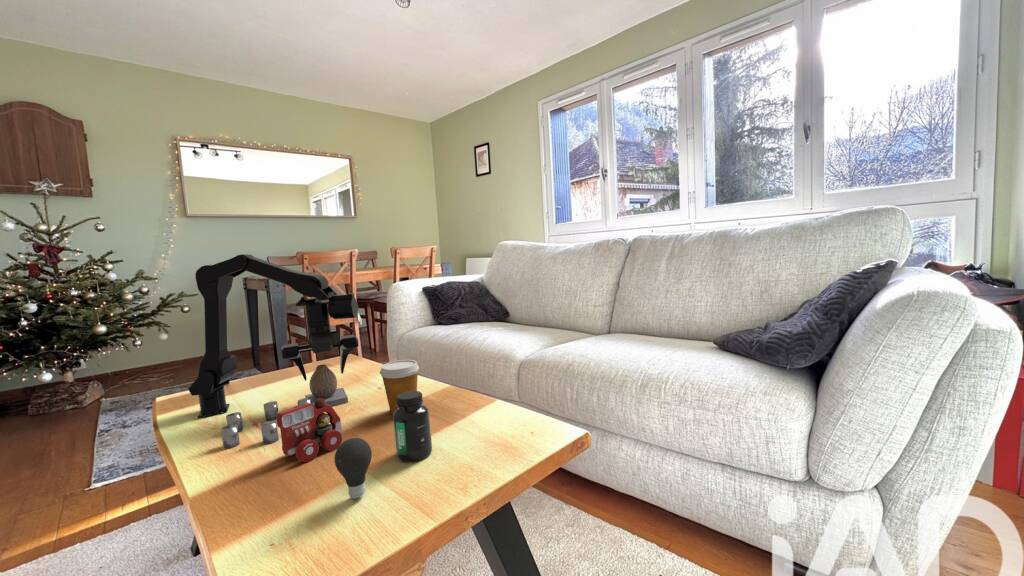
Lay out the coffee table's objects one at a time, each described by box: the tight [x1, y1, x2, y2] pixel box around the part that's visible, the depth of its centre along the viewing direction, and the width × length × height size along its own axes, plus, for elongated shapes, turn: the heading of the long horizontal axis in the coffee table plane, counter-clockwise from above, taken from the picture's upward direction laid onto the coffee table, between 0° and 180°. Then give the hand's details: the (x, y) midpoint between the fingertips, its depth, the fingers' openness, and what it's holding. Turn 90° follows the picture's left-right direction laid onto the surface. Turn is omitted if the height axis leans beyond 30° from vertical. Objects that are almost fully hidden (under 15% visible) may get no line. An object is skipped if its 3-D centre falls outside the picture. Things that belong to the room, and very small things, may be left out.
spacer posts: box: [220, 397, 311, 450], centre depth 97 cm, size 18×18×4 cm
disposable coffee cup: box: [379, 359, 420, 416], centre depth 103 cm, size 10×10×12 cm
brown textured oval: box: [309, 363, 338, 399], centre depth 114 cm, size 7×7×9 cm
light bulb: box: [334, 437, 373, 501], centre depth 67 cm, size 6×6×10 cm
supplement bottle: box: [392, 390, 433, 463], centre depth 80 cm, size 7×7×12 cm
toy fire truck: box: [275, 398, 343, 463], centre depth 84 cm, size 7×12×10 cm, turn 145°
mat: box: [304, 387, 349, 407], centre depth 114 cm, size 10×10×2 cm
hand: (324, 376), depth 114 cm, fingers open, 9 cm apart
